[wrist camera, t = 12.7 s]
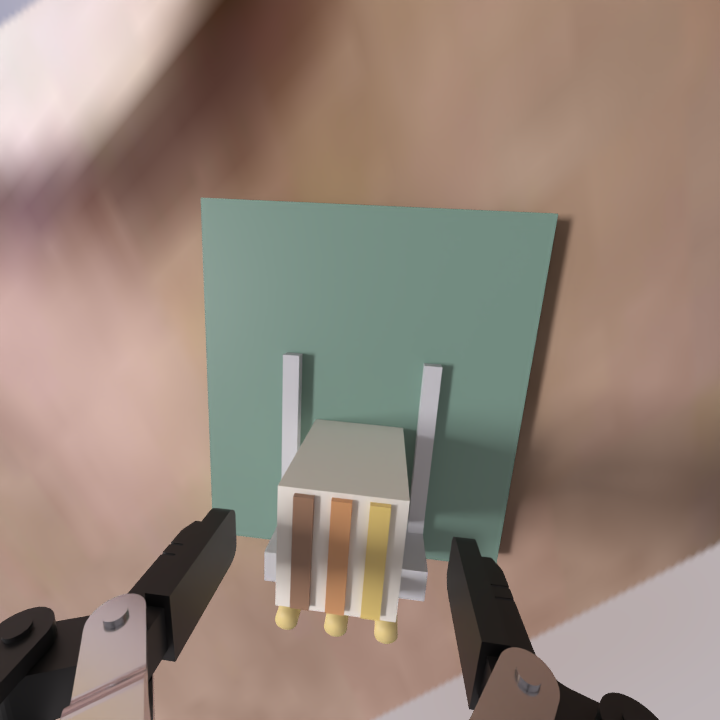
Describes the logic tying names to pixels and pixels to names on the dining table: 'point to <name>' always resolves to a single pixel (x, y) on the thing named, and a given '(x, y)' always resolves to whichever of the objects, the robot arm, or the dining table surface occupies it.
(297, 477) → the plug block
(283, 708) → the dining table surface
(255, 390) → the header board
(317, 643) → the dining table surface
